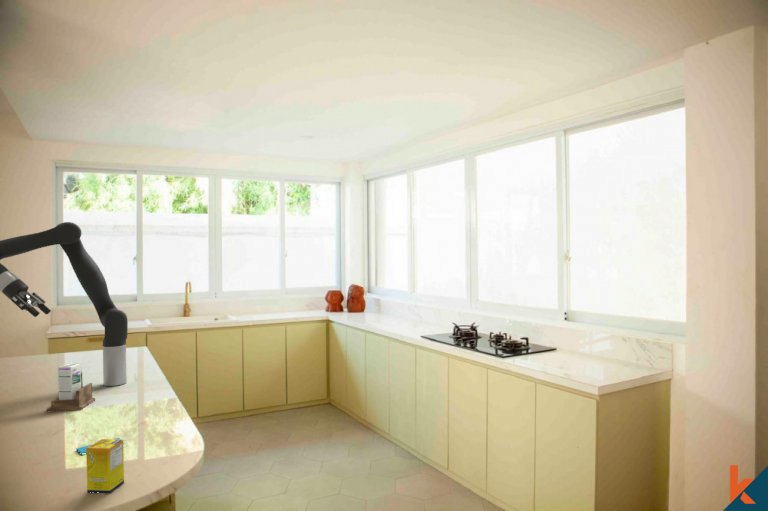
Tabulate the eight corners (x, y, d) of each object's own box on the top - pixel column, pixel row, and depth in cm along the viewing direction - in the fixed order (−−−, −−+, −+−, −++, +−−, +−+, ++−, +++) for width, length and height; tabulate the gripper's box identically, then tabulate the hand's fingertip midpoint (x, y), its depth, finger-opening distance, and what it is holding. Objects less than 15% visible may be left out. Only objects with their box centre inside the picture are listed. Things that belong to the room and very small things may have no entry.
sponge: (126, 442, 153) (120, 435, 157) (80, 454, 144) (75, 446, 149) (125, 447, 153) (120, 440, 157) (80, 459, 145) (75, 451, 149)
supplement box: (102, 482, 127) (101, 438, 127) (124, 483, 127) (124, 439, 127) (86, 493, 121) (85, 447, 121) (109, 494, 121) (109, 448, 121)
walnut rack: (62, 402, 199) (61, 384, 199) (95, 400, 201) (94, 382, 201) (46, 411, 187) (46, 392, 187) (82, 409, 189) (81, 390, 189)
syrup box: (72, 405, 191) (71, 366, 191) (58, 404, 192) (57, 366, 192) (83, 400, 196) (82, 363, 196) (69, 400, 197) (69, 363, 197)
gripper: (7, 279, 191) (41, 308, 192) (28, 277, 205) (59, 305, 206) (-8, 293, 190) (26, 323, 191) (13, 291, 204) (45, 318, 206)
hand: (43, 314), depth 199 cm, fingers open, 8 cm apart
